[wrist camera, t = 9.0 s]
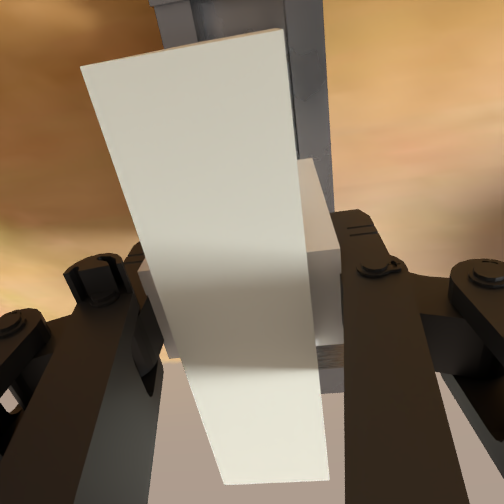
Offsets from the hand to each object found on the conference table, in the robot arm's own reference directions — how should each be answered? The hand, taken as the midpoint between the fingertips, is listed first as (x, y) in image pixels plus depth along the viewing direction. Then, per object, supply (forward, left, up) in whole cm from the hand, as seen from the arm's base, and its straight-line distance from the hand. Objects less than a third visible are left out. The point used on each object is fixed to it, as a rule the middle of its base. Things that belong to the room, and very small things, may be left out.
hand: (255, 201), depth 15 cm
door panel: (0, 0, -5) cm, 5 cm away
